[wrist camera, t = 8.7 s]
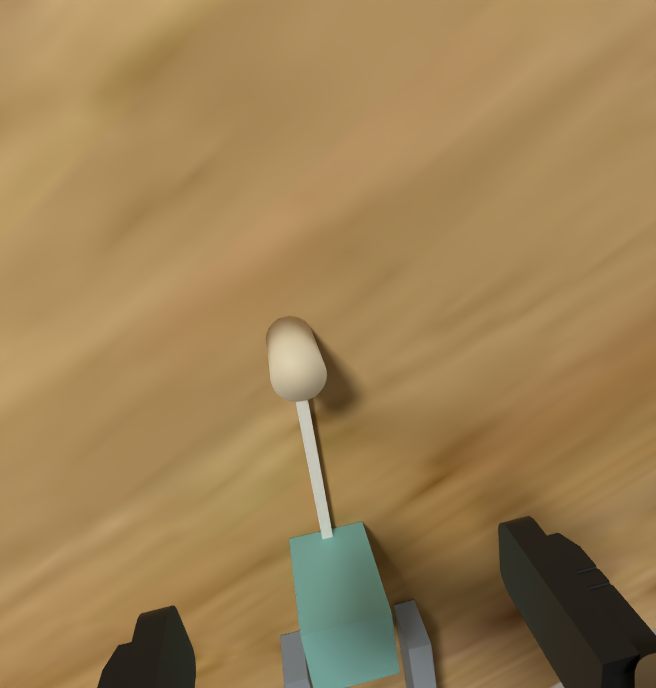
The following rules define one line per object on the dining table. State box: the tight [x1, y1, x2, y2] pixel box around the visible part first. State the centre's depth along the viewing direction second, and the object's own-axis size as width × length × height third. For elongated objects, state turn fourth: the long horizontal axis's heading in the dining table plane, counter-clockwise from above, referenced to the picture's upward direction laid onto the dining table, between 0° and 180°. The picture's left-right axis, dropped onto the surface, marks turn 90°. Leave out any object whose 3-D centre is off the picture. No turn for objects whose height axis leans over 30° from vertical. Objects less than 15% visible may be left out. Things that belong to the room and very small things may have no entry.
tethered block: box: [266, 316, 400, 688], centre depth 27 cm, size 5×20×7 cm, turn 8°
